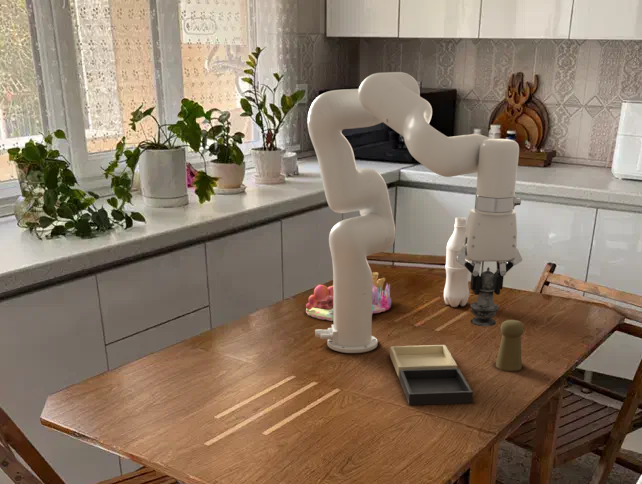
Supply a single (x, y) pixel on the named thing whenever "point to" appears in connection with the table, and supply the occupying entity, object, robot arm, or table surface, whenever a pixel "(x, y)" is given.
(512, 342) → the cork
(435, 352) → the cream tray
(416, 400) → the charcoal tray
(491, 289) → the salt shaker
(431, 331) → the table surface
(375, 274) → the candy landscape model
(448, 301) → the water bottle
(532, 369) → the table surface
